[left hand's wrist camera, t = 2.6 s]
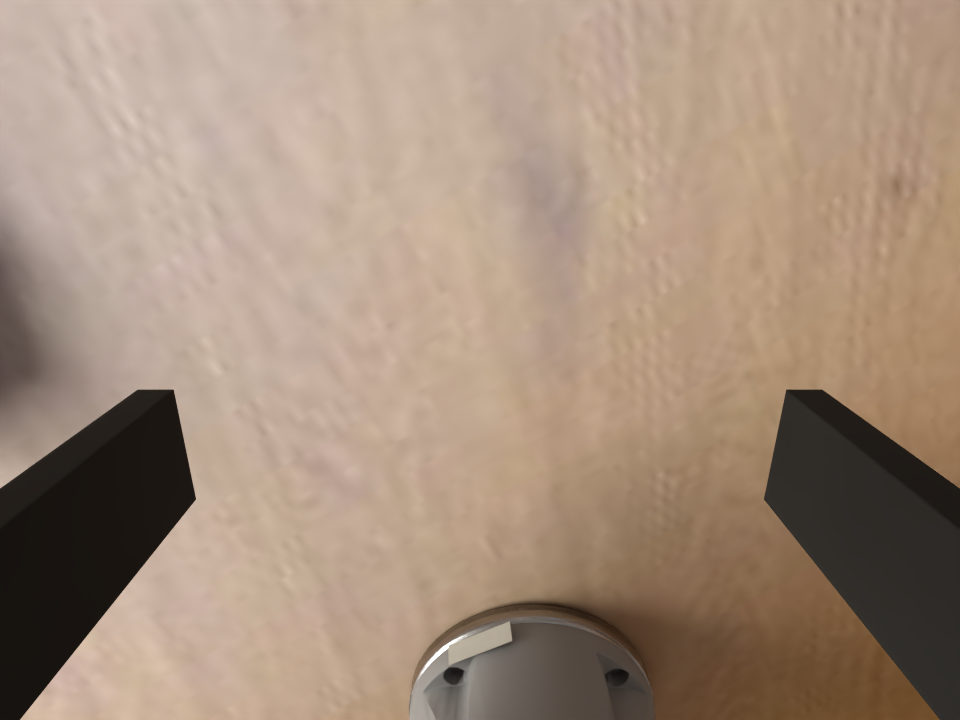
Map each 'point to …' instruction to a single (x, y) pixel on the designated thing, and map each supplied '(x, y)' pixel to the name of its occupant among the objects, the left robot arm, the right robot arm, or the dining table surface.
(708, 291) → the dining table surface
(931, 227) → the dining table surface
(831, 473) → the left robot arm
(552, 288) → the dining table surface
